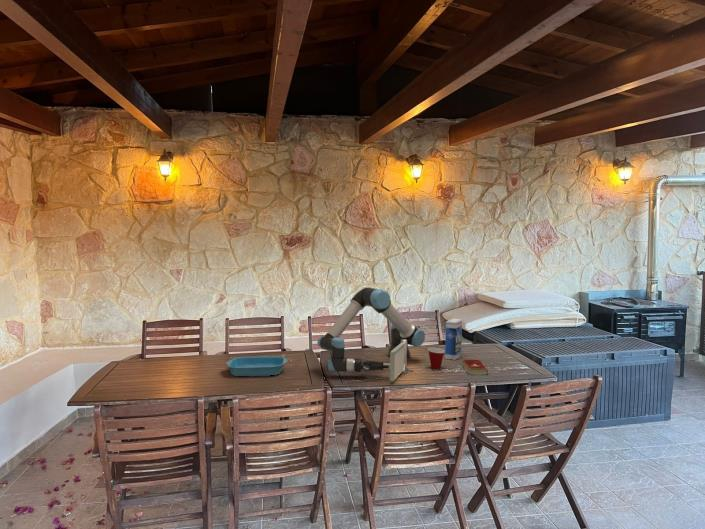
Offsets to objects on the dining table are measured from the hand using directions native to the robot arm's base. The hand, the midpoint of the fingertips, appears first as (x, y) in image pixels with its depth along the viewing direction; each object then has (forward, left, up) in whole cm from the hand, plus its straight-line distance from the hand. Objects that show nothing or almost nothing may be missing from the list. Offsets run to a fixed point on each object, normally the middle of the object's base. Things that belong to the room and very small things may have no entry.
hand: (394, 366), depth 275 cm
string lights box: (-2, +64, -7) cm, 65 cm away
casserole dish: (-65, -52, -8) cm, 84 cm away
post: (-5, +15, -7) cm, 18 cm away
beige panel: (0, +2, -6) cm, 6 cm away
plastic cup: (+5, +35, -7) cm, 36 cm away
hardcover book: (+22, +51, -8) cm, 56 cm away
